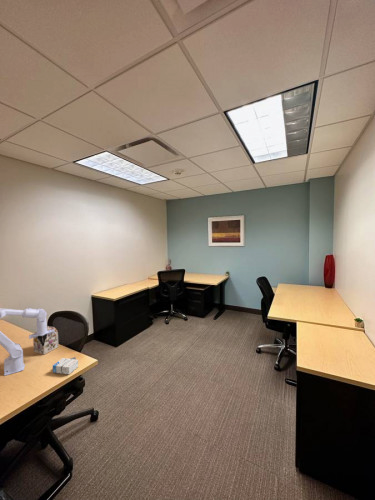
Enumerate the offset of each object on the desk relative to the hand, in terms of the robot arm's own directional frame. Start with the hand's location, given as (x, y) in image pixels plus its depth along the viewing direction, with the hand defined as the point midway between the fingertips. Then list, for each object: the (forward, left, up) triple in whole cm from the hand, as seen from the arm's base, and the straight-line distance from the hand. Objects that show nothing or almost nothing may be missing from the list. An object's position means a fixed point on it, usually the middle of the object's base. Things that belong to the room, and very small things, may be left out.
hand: (43, 345), depth 141 cm
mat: (+15, -17, -10) cm, 25 cm away
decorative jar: (+2, +15, -11) cm, 18 cm away
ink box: (+8, -19, -8) cm, 22 cm away
